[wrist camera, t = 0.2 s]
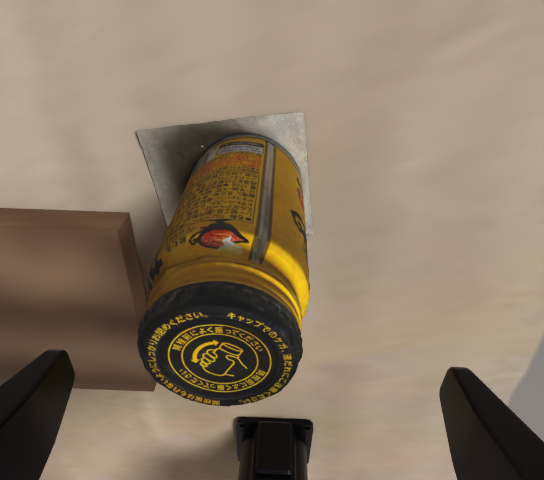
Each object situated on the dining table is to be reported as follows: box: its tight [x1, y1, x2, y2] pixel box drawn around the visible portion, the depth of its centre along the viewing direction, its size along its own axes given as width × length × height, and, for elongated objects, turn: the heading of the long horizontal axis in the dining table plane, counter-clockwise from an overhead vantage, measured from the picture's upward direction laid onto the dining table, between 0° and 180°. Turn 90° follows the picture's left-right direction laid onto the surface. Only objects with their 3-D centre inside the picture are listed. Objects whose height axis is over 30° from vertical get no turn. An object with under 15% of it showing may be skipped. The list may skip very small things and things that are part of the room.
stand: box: [0, 208, 156, 391], centre depth 27 cm, size 14×12×2 cm
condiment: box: [136, 112, 313, 406], centre depth 18 cm, size 7×8×12 cm
